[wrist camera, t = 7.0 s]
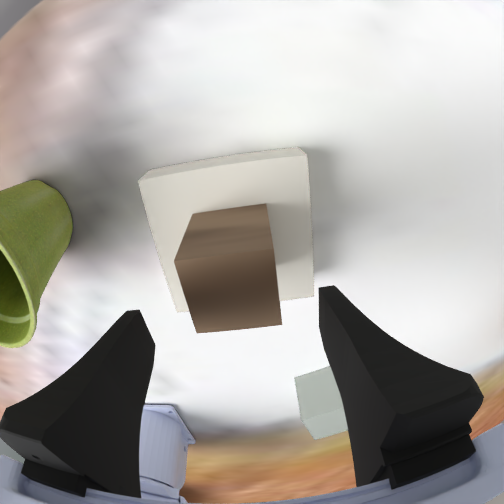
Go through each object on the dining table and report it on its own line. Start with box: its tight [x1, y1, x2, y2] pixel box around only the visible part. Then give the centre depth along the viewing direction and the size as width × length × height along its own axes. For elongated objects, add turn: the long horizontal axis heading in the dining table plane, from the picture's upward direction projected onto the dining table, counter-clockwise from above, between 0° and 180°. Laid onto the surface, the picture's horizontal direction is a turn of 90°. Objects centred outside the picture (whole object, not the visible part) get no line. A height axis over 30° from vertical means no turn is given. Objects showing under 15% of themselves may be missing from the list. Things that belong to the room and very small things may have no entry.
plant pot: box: [0, 180, 73, 348], centre depth 15 cm, size 9×9×9 cm
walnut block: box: [174, 203, 282, 333], centre depth 15 cm, size 4×4×5 cm
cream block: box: [138, 147, 314, 312], centre depth 19 cm, size 9×9×3 cm
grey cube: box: [294, 366, 348, 440], centre depth 26 cm, size 5×5×5 cm
